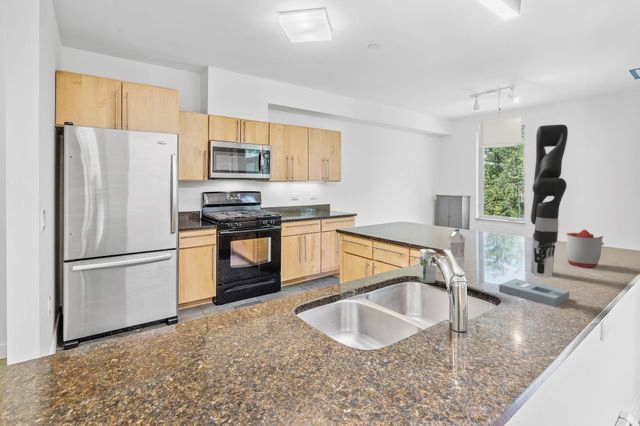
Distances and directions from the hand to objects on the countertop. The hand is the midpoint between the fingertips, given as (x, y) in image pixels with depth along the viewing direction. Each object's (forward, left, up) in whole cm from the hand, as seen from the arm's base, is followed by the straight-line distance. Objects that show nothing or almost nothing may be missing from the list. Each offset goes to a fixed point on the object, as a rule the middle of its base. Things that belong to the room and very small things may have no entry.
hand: (543, 272), depth 129 cm
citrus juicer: (-76, -8, -10) cm, 77 cm away
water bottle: (+14, -29, -10) cm, 34 cm away
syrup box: (+20, -39, -10) cm, 45 cm away
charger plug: (0, 0, -2) cm, 2 cm away
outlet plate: (0, -3, -10) cm, 11 cm away
